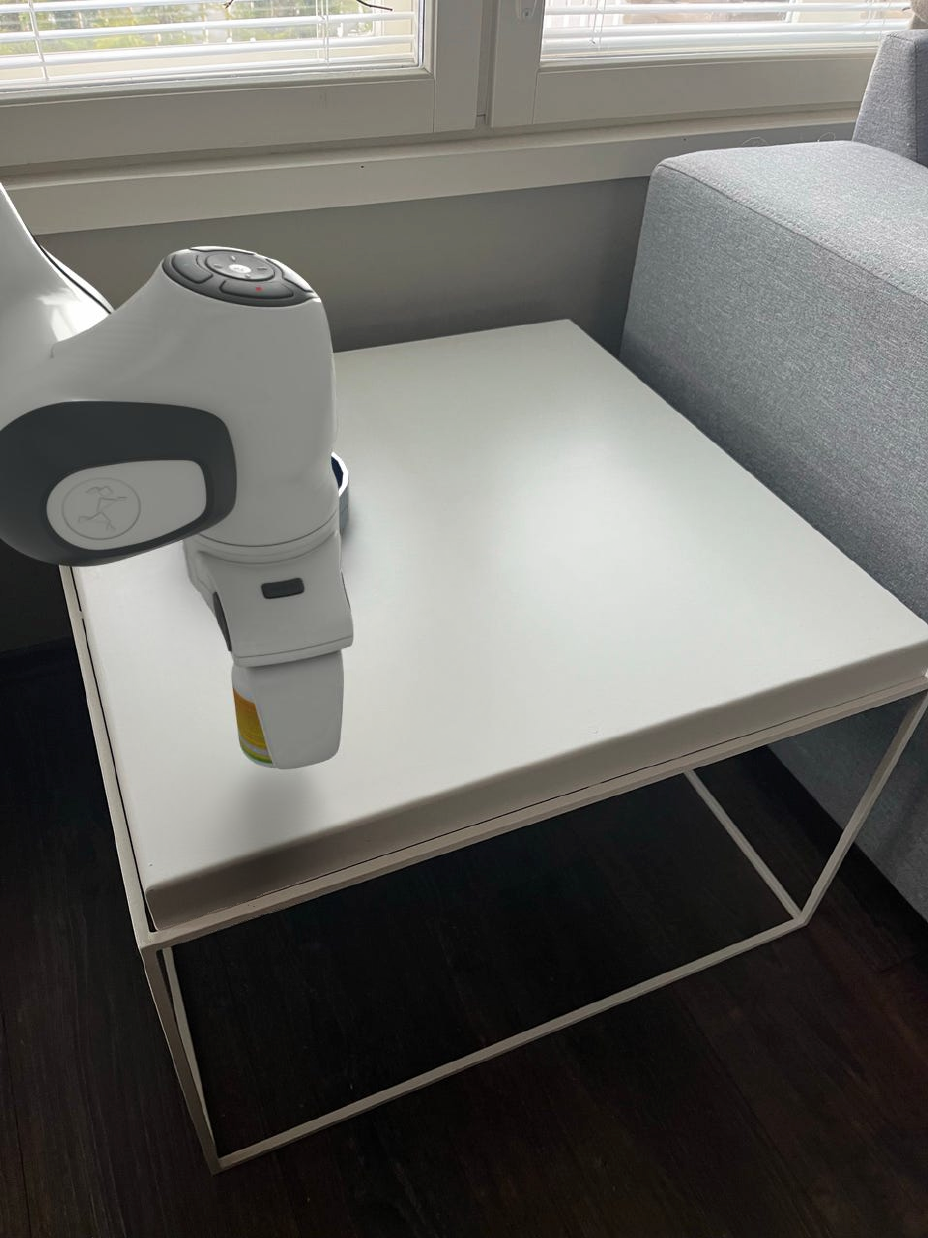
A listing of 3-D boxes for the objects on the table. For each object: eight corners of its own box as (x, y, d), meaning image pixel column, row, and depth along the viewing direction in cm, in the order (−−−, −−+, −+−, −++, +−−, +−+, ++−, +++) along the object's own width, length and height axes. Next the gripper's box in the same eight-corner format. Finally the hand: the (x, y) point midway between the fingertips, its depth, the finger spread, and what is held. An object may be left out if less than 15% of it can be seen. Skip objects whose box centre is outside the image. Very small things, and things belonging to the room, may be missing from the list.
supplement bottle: (313, 773, 65) (307, 671, 59) (232, 768, 65) (218, 665, 59) (323, 714, 69) (319, 612, 63) (247, 709, 69) (235, 607, 63)
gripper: (180, 450, 62) (203, 612, 71) (238, 670, 48) (258, 836, 57) (278, 438, 64) (289, 598, 73) (363, 646, 50) (362, 811, 59)
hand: (276, 704), depth 65 cm, fingers closed on supplement bottle, 5 cm apart
